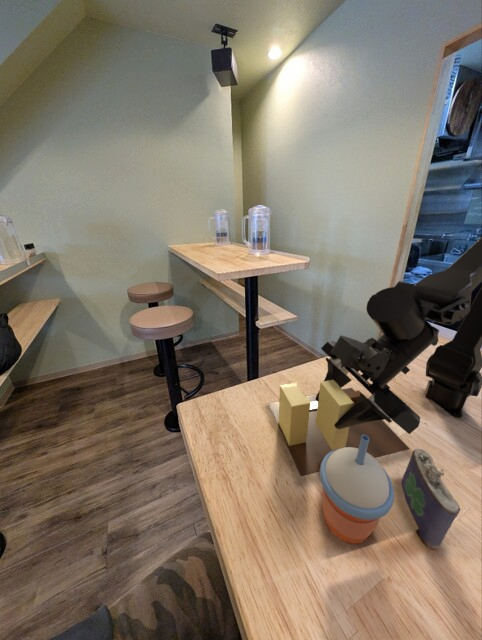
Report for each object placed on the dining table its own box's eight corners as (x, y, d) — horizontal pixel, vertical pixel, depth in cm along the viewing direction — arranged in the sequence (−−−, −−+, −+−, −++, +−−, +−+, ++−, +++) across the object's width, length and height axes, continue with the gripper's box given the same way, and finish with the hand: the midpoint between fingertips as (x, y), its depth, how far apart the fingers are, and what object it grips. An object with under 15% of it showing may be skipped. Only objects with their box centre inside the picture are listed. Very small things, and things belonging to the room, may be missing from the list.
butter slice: (327, 420, 49) (333, 379, 45) (345, 447, 43) (354, 402, 39) (315, 423, 48) (320, 381, 44) (332, 450, 43) (339, 405, 39)
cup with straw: (343, 576, 32) (368, 488, 25) (301, 506, 40) (310, 423, 33) (393, 540, 36) (428, 454, 28) (345, 482, 43) (363, 401, 36)
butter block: (294, 419, 54) (296, 382, 50) (306, 442, 49) (310, 403, 45) (278, 422, 54) (279, 385, 50) (289, 446, 48) (291, 406, 44)
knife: (357, 393, 61) (358, 389, 60) (363, 400, 59) (364, 396, 58) (300, 405, 58) (300, 401, 58) (304, 411, 56) (304, 407, 56)
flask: (443, 552, 34) (470, 504, 30) (420, 548, 35) (443, 501, 30) (412, 484, 43) (429, 439, 38) (393, 482, 43) (408, 437, 39)
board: (350, 392, 64) (351, 387, 63) (408, 454, 48) (410, 448, 47) (268, 408, 60) (268, 403, 59) (300, 481, 44) (300, 476, 43)
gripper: (335, 300, 46) (276, 360, 48) (425, 354, 29) (327, 441, 32) (366, 333, 50) (311, 386, 53) (458, 395, 34) (371, 468, 36)
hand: (325, 413), depth 43 cm, fingers closed on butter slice, 6 cm apart
